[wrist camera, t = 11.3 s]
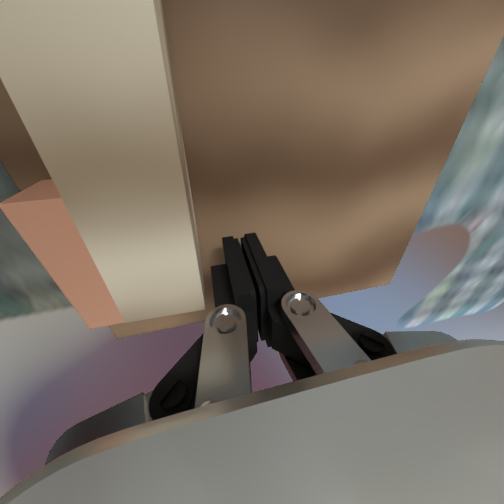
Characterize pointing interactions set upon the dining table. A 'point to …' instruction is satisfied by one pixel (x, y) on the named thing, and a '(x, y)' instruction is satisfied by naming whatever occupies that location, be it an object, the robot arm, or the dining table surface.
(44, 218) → the leg stop
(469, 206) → the dining table surface
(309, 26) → the stool seat board
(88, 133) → the folding leg
